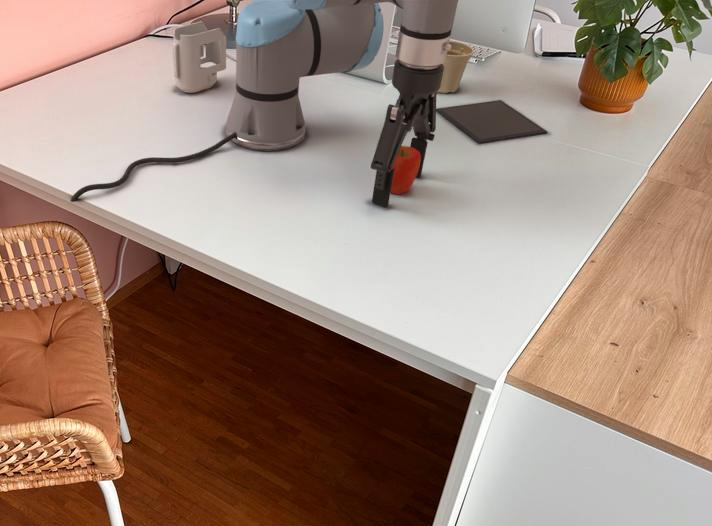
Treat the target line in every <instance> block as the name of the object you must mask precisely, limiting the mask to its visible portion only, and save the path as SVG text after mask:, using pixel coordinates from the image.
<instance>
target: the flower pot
mask: <svg viewBox="0 0 712 526" xmlns="http://www.w3.org/2000/svg"><path fill="white" fill-rule="evenodd" d="M449 44H451V50H450V51H447V55H446V60H445V62H444V63H442V64H443V66H444V72H443V77H442V81H441V86H440V89H439V90H438V91H437V93H442V94H447V93H455V92H457V91H458V89H459V86H460V83H461V80H462V78H463V75H464V73H465V70H466V68H467V66H468V62H469V61H470V59H471V57H472V55H474V53H475V49H474V48H473V47H472V46H471V45H469V44H467V43H464V42H460V41H455V40H449Z"/></svg>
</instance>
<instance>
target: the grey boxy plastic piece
mask: <svg viewBox="0 0 712 526" xmlns="http://www.w3.org/2000/svg"><path fill="white" fill-rule="evenodd" d="M172 36H173V44H172V54H173V55H172V56H173V58H172V59H173V76H174V78H175V87H177V88H178V89H179V90H180V91H181V92H183V93H188V94H189V93H190V94H191V93H197V92H201V91H203V90H208V89H210V88H212V87H213V86H214V85H215V84H216V82H217V81H218V73H219V72H222V71H225V70H226V69H227V37H226V36H225V34H224V32H223V31H222V29H221V27H217V28H214V29H209V30H208V28H207V27H206V25H205V23H204V21H202V20H201V21H196V22H193V23H189V24H185V25H182V26H178V27H175V28H173V30H172ZM204 46H205V47H204ZM204 48H205V51H204ZM204 54H205V57H204ZM207 63H212V64H213V65H210V66H201V65H205V64H207Z"/></svg>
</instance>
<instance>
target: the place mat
mask: <svg viewBox="0 0 712 526" xmlns="http://www.w3.org/2000/svg"><path fill="white" fill-rule="evenodd" d="M436 113H438V114H439V115H441V116H442V117H443V118H445V119H446V120H447V121H449V123H451V124H452V125H453V126H455V127H456V128H458V129H459V130H460V131H461V132H463V133H464V134H465V135H467V136H468V137H469V138H470V139H472V140H473V141H474V142H476V143H477V144H478V145H481V144H487V143H493V142H499V141H507V140H512V139H519V138H526V137H533V136H538V135H547V134H548V131H547V130H546V129H544V128H543V127H542V126H540V125H538V124H537V123H535V122H534V121H532V120H531V119H529V118H528V117H527V116H525V115H524V114H522V113H521V112H519V110H516V109H515V108H513V107H511V106H510V105H509V104H508V103H506V102H504V101H503V100H502V99H500V100H499V99H498V100H490V101H484V102H477V103H468V104H463V105H462V104H461V105H456V106H455V105H454V106H448V107H447V106H446V107H440V108H436Z"/></svg>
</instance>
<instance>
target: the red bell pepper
mask: <svg viewBox="0 0 712 526" xmlns="http://www.w3.org/2000/svg"><path fill="white" fill-rule="evenodd" d="M420 161H421V155H420V153H419V151H417V150H416V149H415V148H412V147H410V146H407V145H402V146H401V148H400V151H399V153H398V155H397V158H396V160H395V163H394V165H393V167H392V169H394V175H393V181H392V186H391V192H390V194H394V195H401V194H405V193H408V192H409V190H410V189H411V188H412V187H413V185H414V182H415V180H416V178H417V177H416V176H417V173H418V170H419V167H420Z"/></svg>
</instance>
